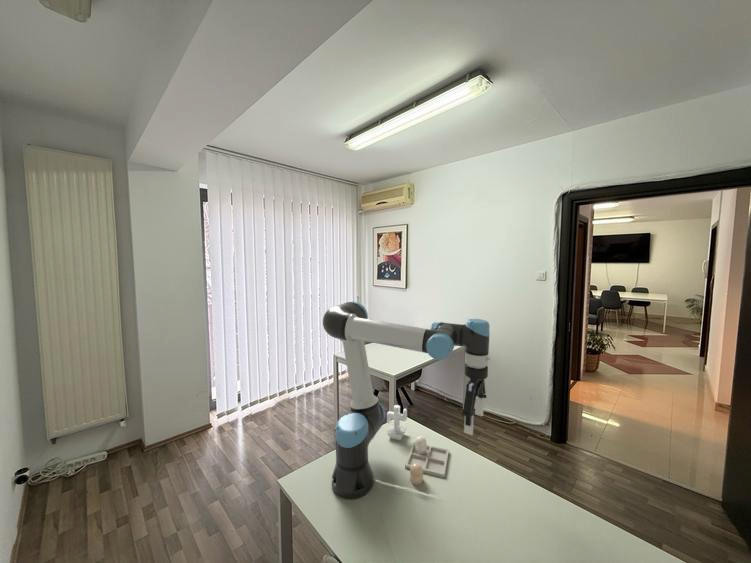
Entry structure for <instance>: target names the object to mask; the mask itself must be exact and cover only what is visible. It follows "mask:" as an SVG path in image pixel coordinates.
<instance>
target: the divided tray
mask: <svg viewBox="0 0 751 563" xmlns="http://www.w3.org/2000/svg"><path fill="white" fill-rule="evenodd" d="M411 445H412V446H411V448H410V451H409V453H408V455H407V459H406V461H405V464H404V468H405V469H407V470H410V468H411V466H412V464H414V463H418V464H420V465H421V466H422V469H423V474H427V475H431V476H436V477H440V478H445V476H446V470H447V466H448V459H449V453H450V449H448V448H443V447H438V446H434V445H430V444H429V445H428V444H426V455H425V456H423V455H419V454H416V453H415V441H413V442H412V444H411Z"/></svg>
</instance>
